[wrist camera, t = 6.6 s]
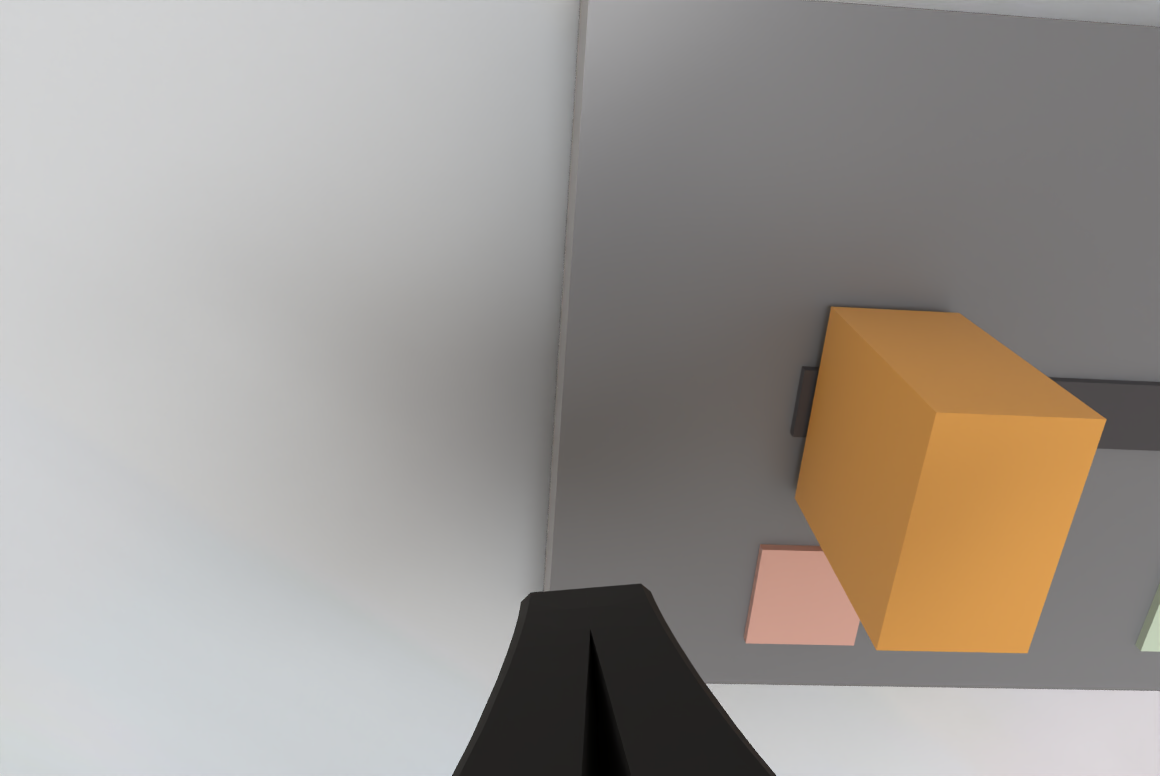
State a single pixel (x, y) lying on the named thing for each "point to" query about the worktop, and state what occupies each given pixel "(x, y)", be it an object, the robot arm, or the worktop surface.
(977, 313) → the breaker panel
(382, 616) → the worktop surface
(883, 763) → the worktop surface
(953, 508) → the block
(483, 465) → the worktop surface
